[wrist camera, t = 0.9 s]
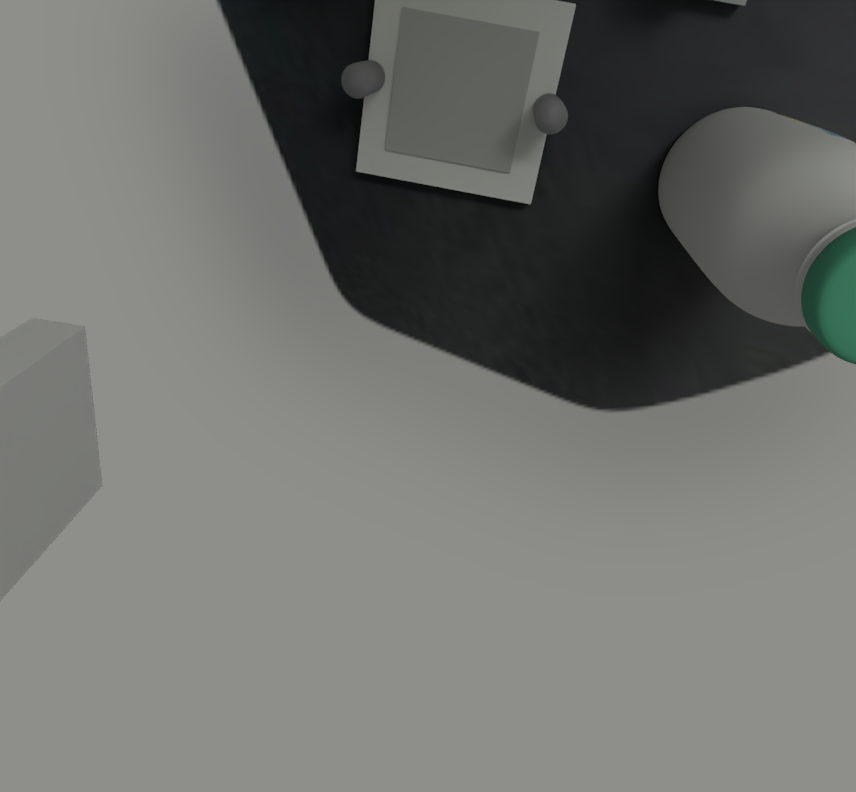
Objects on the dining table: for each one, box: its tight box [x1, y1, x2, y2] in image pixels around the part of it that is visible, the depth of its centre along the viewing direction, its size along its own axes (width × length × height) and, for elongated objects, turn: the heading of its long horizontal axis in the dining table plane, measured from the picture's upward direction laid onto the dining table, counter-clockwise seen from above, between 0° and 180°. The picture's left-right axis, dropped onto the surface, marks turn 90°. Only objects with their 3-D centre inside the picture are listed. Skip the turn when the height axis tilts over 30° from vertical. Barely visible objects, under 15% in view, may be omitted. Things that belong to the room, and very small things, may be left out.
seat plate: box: [341, 0, 576, 204], centre depth 37 cm, size 10×11×4 cm
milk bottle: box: [658, 107, 856, 364], centre depth 31 cm, size 8×8×20 cm
